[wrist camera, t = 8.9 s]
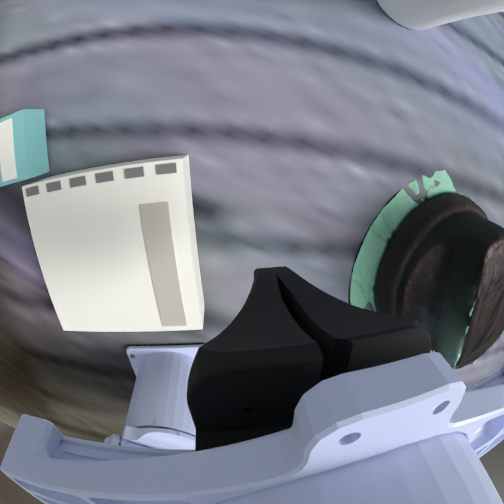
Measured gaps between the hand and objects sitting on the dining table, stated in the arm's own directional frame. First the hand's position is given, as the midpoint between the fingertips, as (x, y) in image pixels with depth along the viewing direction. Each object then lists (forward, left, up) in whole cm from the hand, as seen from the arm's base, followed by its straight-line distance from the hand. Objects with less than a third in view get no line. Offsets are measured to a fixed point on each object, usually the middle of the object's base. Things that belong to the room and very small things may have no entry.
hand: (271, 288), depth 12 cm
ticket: (-1, +10, -10) cm, 14 cm away
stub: (+8, +21, -10) cm, 25 cm away
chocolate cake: (-6, -18, -10) cm, 22 cm away
